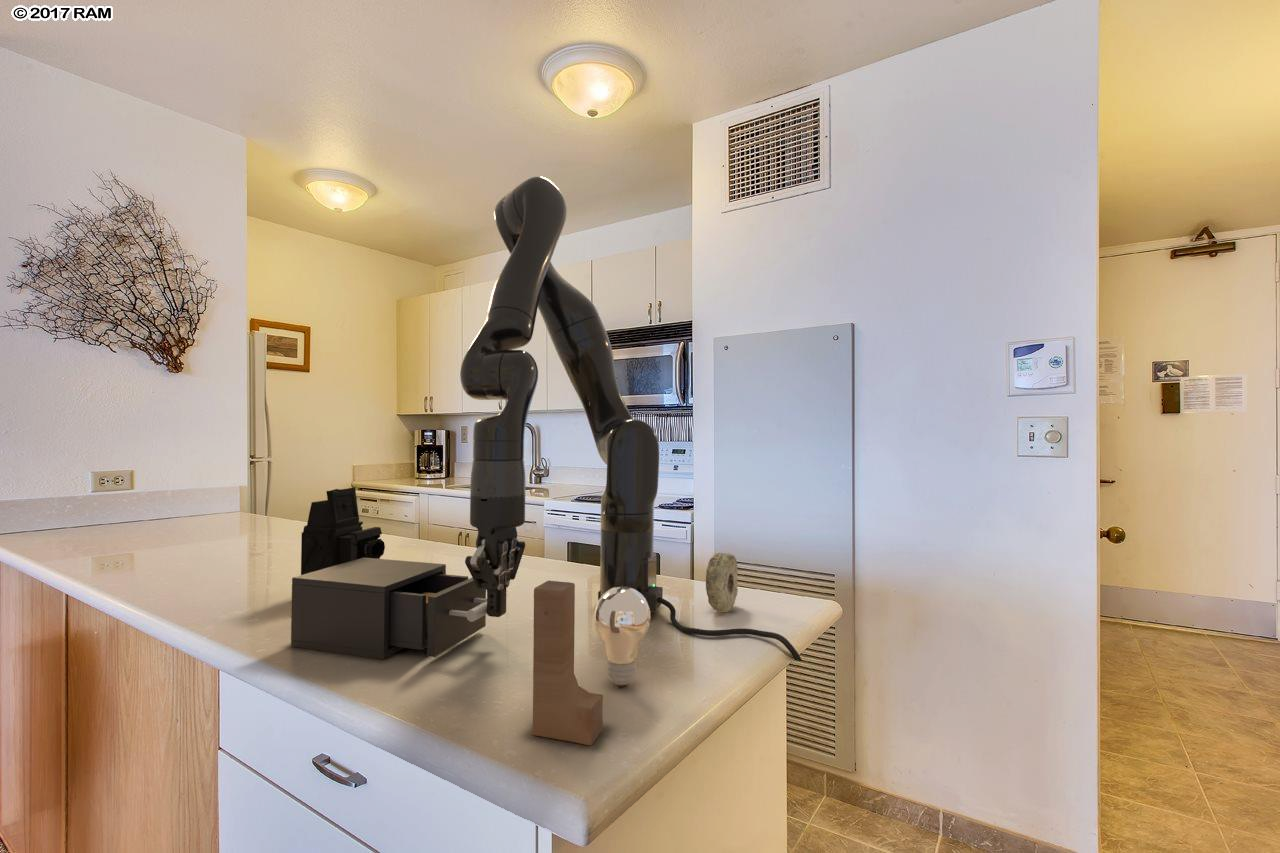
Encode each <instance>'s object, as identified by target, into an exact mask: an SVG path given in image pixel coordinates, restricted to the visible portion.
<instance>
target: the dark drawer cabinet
mask: <svg viewBox="0 0 1280 853" xmlns="http://www.w3.org/2000/svg"><path fill="white" fill-rule="evenodd" d="M433 574H446V575H447V564H445V563H437V562H436V563H435V562H423V561H412V560H411V561H410V560H398V559H388V558H386V559H385V558H380V559H376V558H360V559H357V560H353V561H350V562H346V563H343V564H339V565H335V566H332V567H328V568H325V569H321V570H318V571H314V572H311V573H307V574H304V575H301V574H300V575H296V576H293V577H292V578H291V616H290V618H291V619H290V647H293V648H300V649H307V650H308V649H309V650H315V651H320V652H328V653H335V654H343V655H350V656H358V657H364V658H371V659H378V660H379V659H380V660H385V659H387V658H389V657H391V656H393V655H394V654H396V653H398V652H400V651H402V650H403V649H405V648H403V647H396V646H388V628H389V591H391V590H394V589H397V588H399V587H402V586H404V585H407V584H410V583H412V582H415V581H418V580H420V579H423V578H425V577H428V576H431V575H433Z"/></svg>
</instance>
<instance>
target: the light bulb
mask: <svg viewBox="0 0 1280 853" xmlns="http://www.w3.org/2000/svg"><path fill="white" fill-rule="evenodd" d="M651 615H652V613H651V614H650V609H649V605H648V603H647V601H646V599H645V598H644V596H643V595H642V594H641V593H640V592H638V591H637V590H635V589H633V588H631V587H627V586H618V587H614V588H612V589H610V590H608V591H607V592H605V593H604V594H603V595H602V596H601V598H600V599H599V601H598V600H597V603H596V604H595V607H594V612H593V622H594V627H595V630H596V632H597V634H598V636H599V637H600V639H601V640H602V643H603V645H604V648H605V654H606V657H607V659H608V662H607V663H608V664H607V665H608V666H607V667H608V668H607V670H608V672H607V673H608V675H607V676H608V678H609V679H610V681H612V682H613V684H615V685H616V686H617V687H618V688H625V687H627V685H628V684H630V683H631V682H632V681H633V680H634V678H635V677H636V659H637V657H638V655H639V654H638V653H639V648H640V645H641V643H642V641H643V639H644V637H645V636H646V634H647V633H648V630H649V628H650V623H651V620H652V616H651Z"/></svg>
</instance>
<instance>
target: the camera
mask: <svg viewBox="0 0 1280 853" xmlns="http://www.w3.org/2000/svg"><path fill="white" fill-rule="evenodd" d="M363 524H364V521H360V515H359V507H358V500H357V491H356V486H355V487H349V488H341V489H339V488H334V489H331V490H326V499H325V500H319V501H311V504H310V509H309V513H308V518H307V523H306V525H304V526H303V530H302V532H301V546H300V547H301V549H300V551H301V552H300V575H304V574H307V573H311V572H314V571H318V570H321V569H325V568H328V567H332V566H335V565H339V564H343V563H346V562H350V561H353V560H357V559H360V558H376V559H381V557H382V556H383V555H384V553H385V547H386V545H385V542H384V540H382V539H381V535H382V534H383V532H382V528H381V527H380V526H373V527H370V528H365V529H363V526H362V525H363Z"/></svg>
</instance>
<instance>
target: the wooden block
mask: <svg viewBox="0 0 1280 853" xmlns="http://www.w3.org/2000/svg"><path fill="white" fill-rule="evenodd" d="M575 602H576V584H575V583H574V582H568V581H558V580H546V581H545V582H542V583H541V584H539V585H537V586H535V587H534V589H533V651H532V652H533V655H532V656H533V658H532V659H533V660H532V661H533V663H532V664H533V665H532V678H533V679H532V731H531V732H532V736H537V737H542V738H549V739H554V740H560V741H565V742H571V743H577V744H580V745H586V746H592V745H593V744H594V742H595V741H596V740H597V739H598V737H599V735H600V734H601V733H602V732H603V728H604V723H603V722H604V695H603V694H600V693H594V692H589V691H587V690H586V689H584V688H583V687H581V686H580V685H579V682H578V680H577V678H576V675H575V619H576V618H575V616H576V614H575V612H576V611H575V610H576V609H575V606H576V605H575V604H576V603H575Z"/></svg>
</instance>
